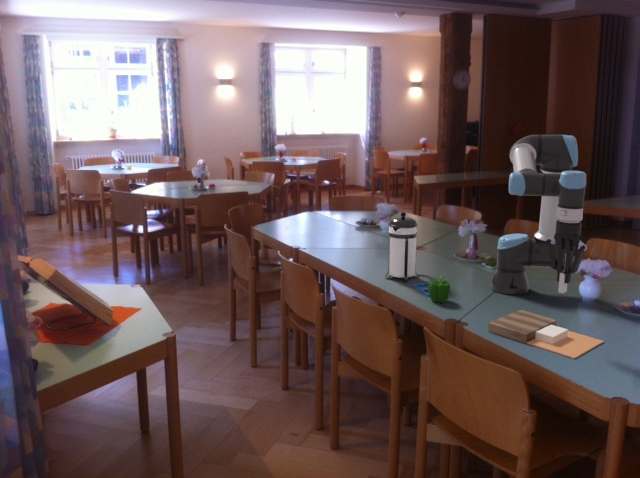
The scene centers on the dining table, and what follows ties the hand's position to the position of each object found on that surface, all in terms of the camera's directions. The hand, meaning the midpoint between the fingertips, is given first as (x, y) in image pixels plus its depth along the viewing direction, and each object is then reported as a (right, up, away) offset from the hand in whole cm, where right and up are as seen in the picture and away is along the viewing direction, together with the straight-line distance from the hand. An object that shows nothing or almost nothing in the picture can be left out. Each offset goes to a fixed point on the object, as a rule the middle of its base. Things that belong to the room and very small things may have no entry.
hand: (562, 291), depth 193 cm
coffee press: (-41, 0, +76) cm, 86 cm away
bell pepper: (-31, -8, +43) cm, 54 cm away
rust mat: (+2, -17, +2) cm, 17 cm away
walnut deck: (-9, -14, +13) cm, 21 cm away
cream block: (-2, -16, +5) cm, 17 cm away
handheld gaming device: (-33, -5, +57) cm, 66 cm away
